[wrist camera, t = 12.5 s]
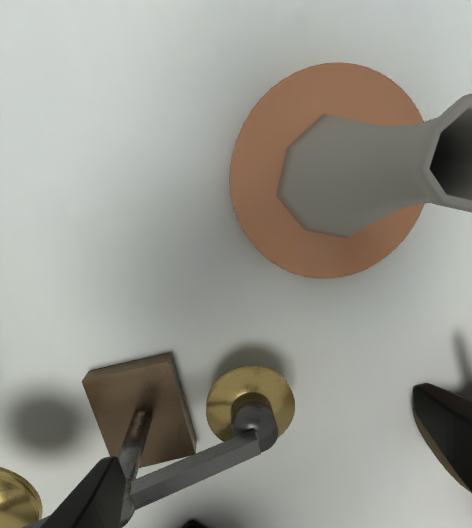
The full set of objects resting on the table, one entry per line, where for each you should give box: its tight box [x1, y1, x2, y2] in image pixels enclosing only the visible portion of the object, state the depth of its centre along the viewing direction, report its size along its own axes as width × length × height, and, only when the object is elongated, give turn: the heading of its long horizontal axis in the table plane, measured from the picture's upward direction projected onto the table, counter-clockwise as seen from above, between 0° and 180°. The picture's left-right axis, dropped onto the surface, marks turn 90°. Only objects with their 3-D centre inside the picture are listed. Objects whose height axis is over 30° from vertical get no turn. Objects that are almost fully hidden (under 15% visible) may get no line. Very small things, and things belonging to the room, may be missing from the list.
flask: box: [277, 94, 472, 238], centre depth 13 cm, size 7×7×10 cm
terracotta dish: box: [230, 63, 424, 278], centre depth 19 cm, size 13×13×1 cm
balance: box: [0, 353, 295, 528], centre depth 17 cm, size 22×8×9 cm, turn 101°
